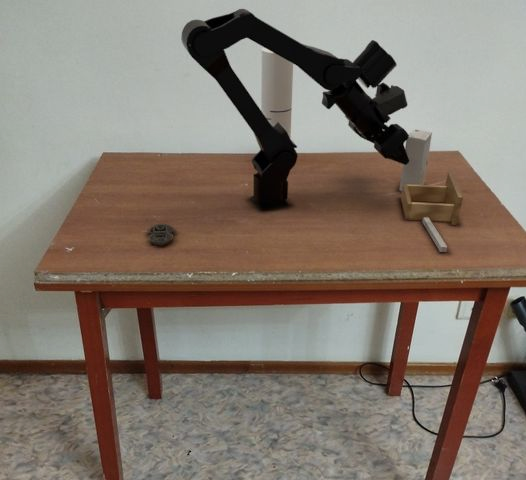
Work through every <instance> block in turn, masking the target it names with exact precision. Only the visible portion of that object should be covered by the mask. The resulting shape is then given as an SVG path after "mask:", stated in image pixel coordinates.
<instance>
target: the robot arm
mask: <svg viewBox="0 0 526 480" xmlns="http://www.w3.org/2000/svg"><path fill="white" fill-rule="evenodd" d="M245 39H249V40H250V41H252V42H254V43H256V44H258V45H259V46H261V47H262V48H266V49H268V50H270V51H272V52H273V53H275V54H277V55H279V56H281V57H282V58H284V59H286V60H288V61H290V62H291V63H293V65H295V66H297V68H299V69H300V70H301V71H302V72H303V73H304V74H306V75H307V76H308V77H309V78H311V79H312V80H313V81H314V82H315V83H316V84H317V85H319V86H320V87H321V88H323V89H324V90H326V91H322V100H321V105H322V106H323V107H325V108H326V109H327V110H331V108H333V106H335V105H336V107H337V108H338V109H339V110H340V111H341V112H342V113H343V114H344V117H345V118H346V120H347V121H348V125H347V126H348V127H349V128H350V129H351V130H352V131H353V132H354V133H355V134H356V135H357V136H358V137H359V138H361V139H363V140H365V141H368V142H370V143H372V144H373V148H374V150H375V151H377V153H378V154H379V155H380V156H382V157H383V158H384V159H385V160H386V159H388V160H390V161H394V162H397V163H399V164H402V165H403V164H404V165H407V164H408V163H409V158H408V156H407V153H406V150H405V143H406V140H407V139H408V137H409V135H410V134H409V133H408V132H407V131H406V129H404V127H402V126H401V125H399V124H398V123H391V124H389V125H387V124H386V123H388V122H389V121H390V120H391V117H390V116H389V115H392V114H394V113H396V112H398V111H400V110H402V109H405V108H407V107H408V100H407V97H406V92H405V90H404V89H403V88H401V87H400V86H398V85H393V84H391V85H390V86H389V85H388V84H386V83H385V82H383V81H384V80H385V78H387V77H388V75H390V73H392V71H393V70H394V69H395V68H396V67H397V65H398V64H397V62H396V61H395V59H394V57H393V56H392V55H391V54H390V53H388V52H387V51H386V50H385V48H383V47H382V46H381V45H380V44H379V42H378V41H376V40H374V39H372V40H370V41H369V43H368V44H367V45H366V46H365V48H364V49H363V50H362V51H361V53H360V54H359V55H358V56H357V57H356V58H355V59H354V60H353V61H351V60H350V59H347V58H340V57H337V56H336V55H334V54H333V53H331V52H329V51H326V50H324V49H321V48H318V47H315V46H311V45H307V44H304V43H301V42H299V40H296V39H295V38H293V37H291V36H289V35H288V34H287V33H285V32H283V31H282V30H279V29H277V28H276V27H274V26H273V25H271V24H269V23H267V22H265V21H264V20H262V19H261V18H259V17H257V16H256V15H255V14H254V13H253V12H250V11H249V10H248V9H246V8H239V9H237V10H235V11H233V12H230V13H226V14H222V15H218V16H215V17H211V18H209V19H206V20H201V19H192V20H189V21H188V22H187V23H186V24H185V25H184V26H183V29H182V31H181V43H182V45H183V47H184V49H185V50H186V51H187V53H188V55H189V56H190V57H191V58H192V59H193V61H195V62H196V63H197V64H198V65H199V66H200V67H201V68H203V70H204V71H205V72H207V73H208V74H209V75H210V76H211V77H212V78H213V79H214V80H215V81H216V83H217V84H218V85H219V87H220V88H221V90H222V91H223V92H224V94H225V96H227V98H228V99H229V100H230V102H231V104H232V105H233V106H234V107H235V108H236V110H237V111H238V113H239V114H240V116H241V117H242V119H243V120H244V121H245V123H246V124H247V125H248V127H249V129H251V131H252V132H253V135H254V137H255V140H256V142H257V144H258V146H259V147H258V148H259V149H260V150H259V151H258V152H257V153H256V154H255V155H254V156H253V158H252V159H251V163H252V166H253V168H254V170H256V173H253V176H252V177H253V179H252V181H253V183H252V184H253V193H252V194H253V196H250V197H249V198H250V201H251V202H253V204H254V205H256V207H257V208H259V210H261V211H268V210H272V209H273V210H274V209H278V208H283V207H284V208H285V207H288V206H290V202H289V201H288V198H289V197H288V195H289V180H288V178H289V175H290V172H291V170H292V169H293V168H294V167H295V165H296V164H297V160H298V152H297V150H296V149H297V148H298V145H297V144H296V143H295V142H294V141H293V140H292V139H291V138H290V137H289V135H288V133H287V131H286V130H285V129H284V128H283V127H282V126H281V124H280V123H279V122H277V124H276V125H275V126H274V127H273V126H272V125H271V124H270V123H269V121H268V120H267V119H266V117H265V116H264V114H263V113H262V111H261V107H259V105H258V104H257V103H256V101H255V100H254V99H253V97H252V95H251V94H250V93H249V90H247V88H246V87H245V85H244V84H243V81H241V79H240V77H238V75H237V74H236V72H235V71H234V69H233V68H232V66H231V64H230V60H229V58H228V55H227V53H226V51H225V50H227V49H229V48H231V47H232V46H234V45H236V44H237V43H239V42H240V41H242V40H245ZM357 80H358V81H357ZM358 82H360V83H361V84H362V85H363V86H364V87H365V88H366V89H369V88H370V87H371V88H372V89H376V91H375V94H374V96H375V97H373V98H372V97H371V96H370V95H368V93H366V91H365V90H364V89H363V88H362V86H361V84H360V83H358Z"/></svg>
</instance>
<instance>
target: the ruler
mask: <svg viewBox="0 0 526 480" xmlns="http://www.w3.org/2000/svg"><path fill="white" fill-rule="evenodd" d="M421 221H422V222H421V223H422V224H423V226H424V228H425V230H426V231H427V233H428V234H429V236H430V237H431V239H432V241H433V242H434V244H435V246H436V247H437V249H438V251H439V252H440V253H447V250H448V245H447V244H446V242H445V241H444V240H443V238H442V236H441V234H440V233H439V231H438V230H437V228H436V227H435V225H434V224H433V221H431V220H430V219H429V217H423V220H421Z"/></svg>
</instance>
